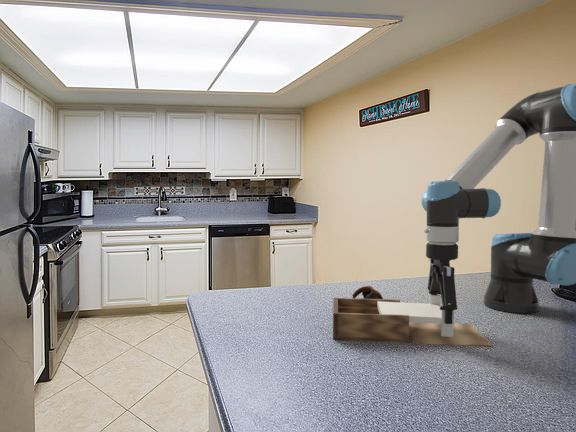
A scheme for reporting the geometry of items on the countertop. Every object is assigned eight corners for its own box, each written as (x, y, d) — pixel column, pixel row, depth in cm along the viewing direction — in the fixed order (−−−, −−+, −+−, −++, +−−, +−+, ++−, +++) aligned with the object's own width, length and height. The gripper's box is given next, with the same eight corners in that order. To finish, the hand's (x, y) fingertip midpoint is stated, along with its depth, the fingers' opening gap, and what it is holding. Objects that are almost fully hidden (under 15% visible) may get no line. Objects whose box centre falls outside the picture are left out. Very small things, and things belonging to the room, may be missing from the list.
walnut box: (399, 323, 113) (399, 299, 113) (408, 342, 99) (409, 316, 98) (333, 320, 115) (333, 297, 115) (333, 339, 101) (333, 313, 100)
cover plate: (437, 309, 111) (438, 304, 110) (449, 324, 99) (450, 318, 99) (377, 306, 112) (377, 301, 112) (381, 320, 101) (382, 314, 100)
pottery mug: (390, 316, 121) (379, 294, 119) (361, 328, 123) (349, 306, 121) (383, 295, 132) (373, 275, 130) (356, 307, 134) (345, 286, 132)
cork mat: (471, 325, 111) (471, 324, 111) (492, 346, 96) (492, 345, 96) (402, 322, 113) (402, 321, 113) (413, 343, 98) (413, 342, 98)
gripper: (417, 236, 116) (416, 312, 117) (438, 249, 92) (436, 344, 93) (445, 237, 115) (443, 313, 116) (473, 250, 91) (471, 345, 92)
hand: (440, 327), depth 105 cm, fingers closed on cover plate, 12 cm apart
